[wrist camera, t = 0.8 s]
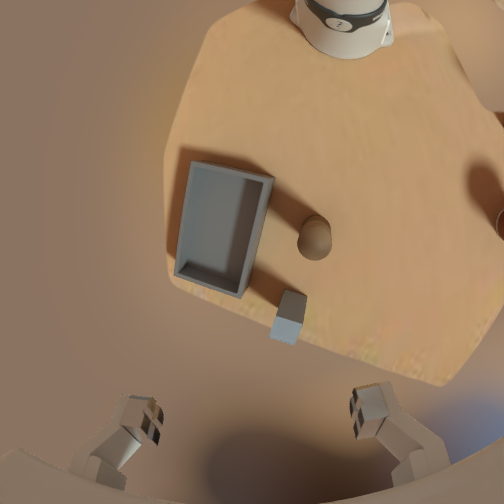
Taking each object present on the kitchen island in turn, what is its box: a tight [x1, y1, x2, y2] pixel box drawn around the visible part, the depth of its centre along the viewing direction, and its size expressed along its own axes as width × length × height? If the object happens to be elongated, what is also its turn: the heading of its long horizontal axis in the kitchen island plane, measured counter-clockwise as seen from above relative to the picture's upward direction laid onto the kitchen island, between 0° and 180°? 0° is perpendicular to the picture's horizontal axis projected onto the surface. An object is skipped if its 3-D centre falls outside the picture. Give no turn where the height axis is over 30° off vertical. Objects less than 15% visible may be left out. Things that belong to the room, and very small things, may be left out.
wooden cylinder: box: [297, 215, 332, 260], centre depth 44 cm, size 5×5×9 cm
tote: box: [174, 161, 275, 299], centre depth 50 cm, size 22×14×5 cm, turn 167°
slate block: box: [269, 289, 307, 345], centre depth 49 cm, size 4×4×10 cm
